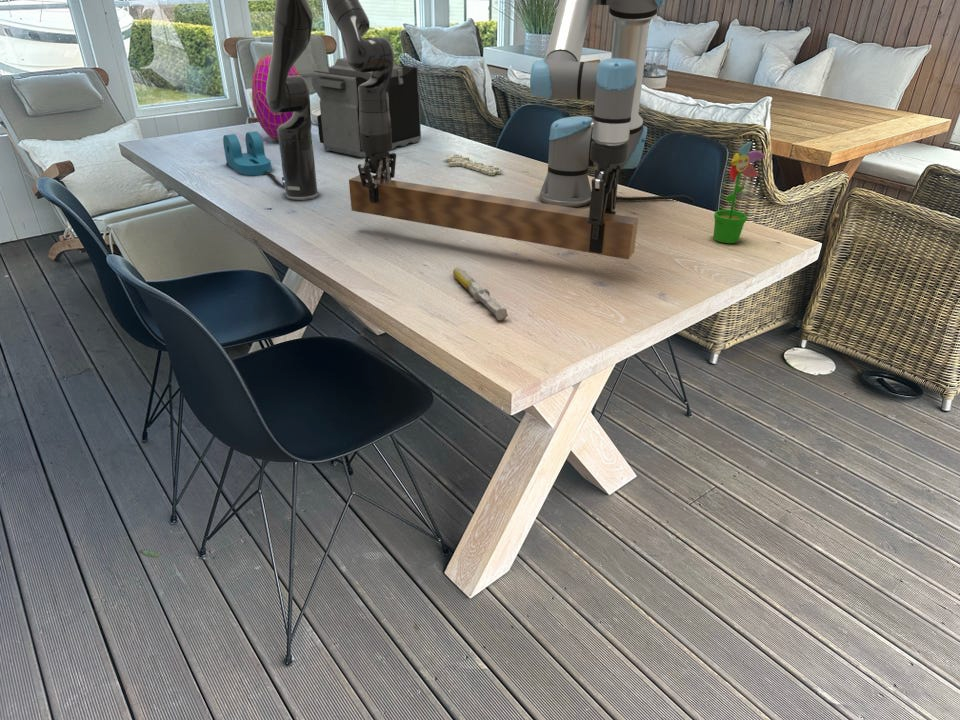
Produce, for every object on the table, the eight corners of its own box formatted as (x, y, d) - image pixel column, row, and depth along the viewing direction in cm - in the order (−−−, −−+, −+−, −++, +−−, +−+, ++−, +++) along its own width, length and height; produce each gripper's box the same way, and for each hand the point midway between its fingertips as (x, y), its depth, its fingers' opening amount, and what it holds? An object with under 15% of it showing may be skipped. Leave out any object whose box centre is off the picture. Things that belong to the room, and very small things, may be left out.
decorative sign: (435, 158, 239) (457, 153, 245) (435, 161, 240) (457, 156, 245) (485, 174, 222) (507, 169, 228) (485, 177, 223) (507, 172, 228)
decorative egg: (293, 132, 276) (283, 50, 261) (319, 140, 264) (310, 56, 249) (249, 139, 265) (236, 54, 250) (273, 148, 253) (261, 60, 238)
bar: (634, 252, 153) (638, 217, 148) (628, 259, 149) (633, 224, 145) (361, 205, 178) (359, 174, 174) (351, 210, 175) (348, 179, 171)
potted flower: (724, 247, 171) (744, 145, 158) (701, 237, 177) (720, 137, 164) (751, 241, 175) (774, 141, 162) (728, 231, 181) (748, 134, 168)
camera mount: (227, 164, 233) (221, 132, 227) (257, 160, 238) (252, 129, 233) (244, 176, 220) (239, 143, 215) (276, 172, 225) (271, 139, 220)
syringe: (449, 274, 155) (449, 263, 153) (465, 272, 156) (464, 260, 154) (490, 323, 135) (491, 310, 133) (508, 319, 136) (508, 307, 134)
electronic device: (383, 133, 276) (378, 52, 261) (425, 141, 265) (422, 56, 250) (314, 150, 251) (304, 61, 235) (358, 160, 240) (350, 67, 224)
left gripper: (378, 122, 170) (382, 189, 179) (345, 134, 159) (351, 205, 168) (404, 125, 168) (407, 194, 176) (372, 138, 157) (377, 210, 165)
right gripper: (604, 130, 149) (594, 232, 161) (578, 149, 136) (570, 258, 148) (638, 133, 147) (625, 237, 159) (615, 153, 133) (603, 264, 145)
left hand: (380, 199), depth 172 cm, fingers closed on bar, 4 cm apart
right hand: (598, 247), depth 153 cm, fingers closed on bar, 5 cm apart
